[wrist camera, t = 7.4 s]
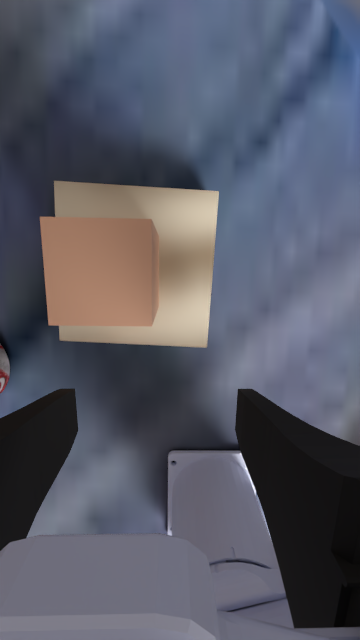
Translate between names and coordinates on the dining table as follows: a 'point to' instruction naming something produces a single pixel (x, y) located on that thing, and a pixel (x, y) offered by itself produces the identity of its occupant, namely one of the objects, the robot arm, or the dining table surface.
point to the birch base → (174, 257)
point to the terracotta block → (100, 271)
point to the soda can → (4, 369)
